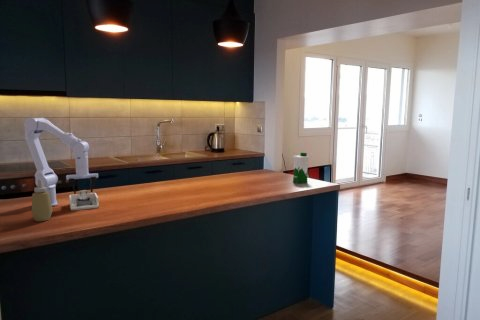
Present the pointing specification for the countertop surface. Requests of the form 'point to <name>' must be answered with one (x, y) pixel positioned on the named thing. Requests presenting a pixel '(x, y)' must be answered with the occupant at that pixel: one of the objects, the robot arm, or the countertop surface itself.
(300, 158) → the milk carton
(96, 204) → the walled box
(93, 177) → the robot arm
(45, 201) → the squeeze bottle
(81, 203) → the inlet socket
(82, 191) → the steel plug
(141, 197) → the countertop surface
